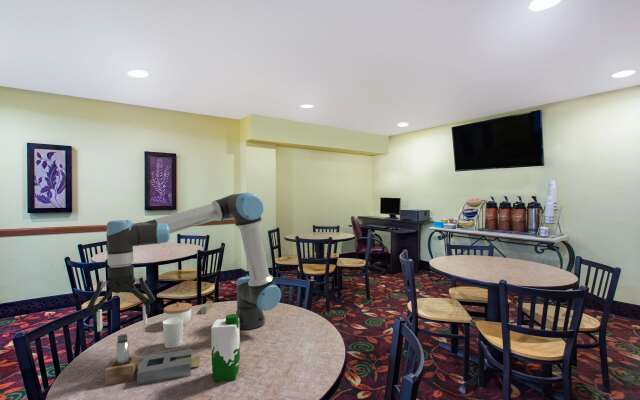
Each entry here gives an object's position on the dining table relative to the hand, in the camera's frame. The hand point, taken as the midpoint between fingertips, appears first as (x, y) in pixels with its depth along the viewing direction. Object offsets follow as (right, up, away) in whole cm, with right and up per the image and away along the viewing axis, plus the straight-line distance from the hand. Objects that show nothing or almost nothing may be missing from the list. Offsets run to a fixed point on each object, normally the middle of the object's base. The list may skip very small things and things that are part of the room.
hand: (123, 326), depth 109 cm
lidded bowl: (-1, -18, +46) cm, 49 cm away
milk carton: (+36, -16, -1) cm, 40 cm away
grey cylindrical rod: (0, -17, 0) cm, 17 cm away
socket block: (+13, -17, +2) cm, 21 cm away
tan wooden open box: (0, -17, 0) cm, 17 cm away
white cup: (+6, -17, +24) cm, 30 cm away
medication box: (+5, -18, +66) cm, 69 cm away
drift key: (+20, -17, +5) cm, 27 cm away
